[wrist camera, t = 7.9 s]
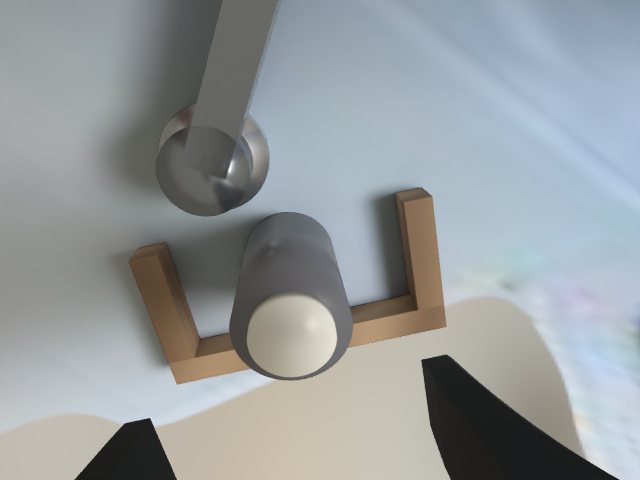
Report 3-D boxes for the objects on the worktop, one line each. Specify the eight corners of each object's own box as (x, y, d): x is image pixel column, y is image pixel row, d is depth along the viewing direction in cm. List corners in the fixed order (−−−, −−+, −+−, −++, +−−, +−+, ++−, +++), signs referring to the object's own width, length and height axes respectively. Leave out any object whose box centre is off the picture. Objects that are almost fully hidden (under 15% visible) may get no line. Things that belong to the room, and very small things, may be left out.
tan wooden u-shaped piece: (421, 187, 20) (432, 196, 18) (436, 310, 22) (446, 326, 21) (139, 247, 20) (128, 261, 18) (183, 364, 22) (177, 384, 21)
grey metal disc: (254, 90, 18) (252, 91, 17) (280, 195, 19) (279, 202, 18) (147, 114, 18) (138, 116, 17) (181, 216, 19) (175, 224, 18)
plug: (323, 203, 20) (344, 269, 13) (339, 283, 21) (365, 377, 14) (235, 222, 20) (211, 298, 13) (257, 300, 21) (245, 403, 14)
